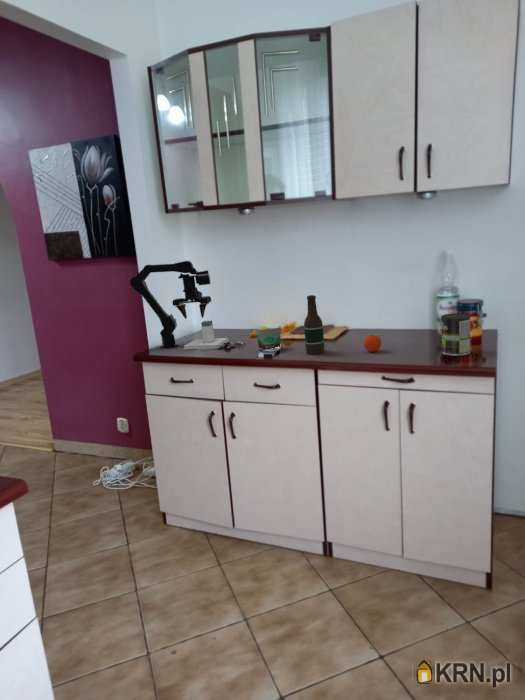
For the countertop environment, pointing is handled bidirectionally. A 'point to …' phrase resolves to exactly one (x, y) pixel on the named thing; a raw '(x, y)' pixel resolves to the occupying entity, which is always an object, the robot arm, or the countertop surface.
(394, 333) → the countertop surface
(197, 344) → the socket
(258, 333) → the food container
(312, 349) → the beer bottle
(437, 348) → the countertop surface
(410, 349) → the countertop surface
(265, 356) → the countertop surface
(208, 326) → the plug
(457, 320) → the coffee can
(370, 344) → the clementine
